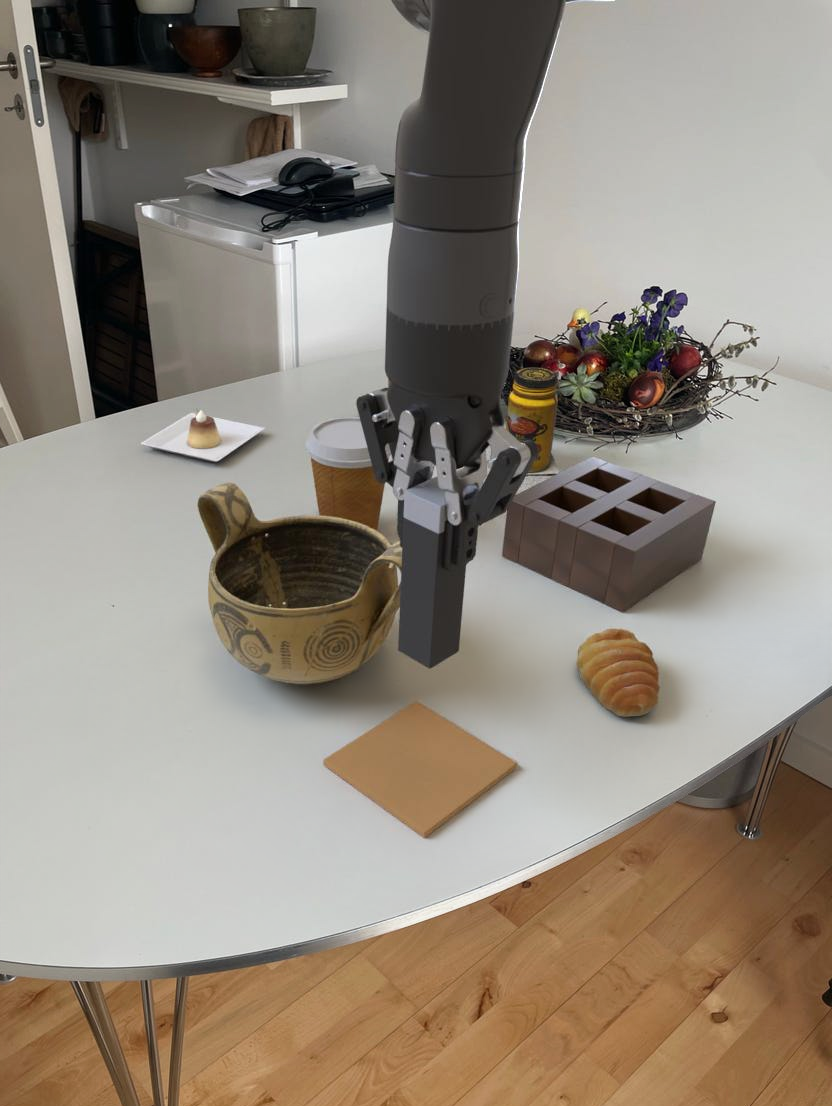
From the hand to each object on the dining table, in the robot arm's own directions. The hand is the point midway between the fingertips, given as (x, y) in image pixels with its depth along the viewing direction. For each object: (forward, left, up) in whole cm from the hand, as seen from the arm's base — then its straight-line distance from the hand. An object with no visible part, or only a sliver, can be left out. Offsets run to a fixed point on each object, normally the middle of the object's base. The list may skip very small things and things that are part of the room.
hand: (434, 554), depth 67 cm
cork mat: (0, 0, -20) cm, 20 cm away
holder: (+9, -39, -20) cm, 44 cm away
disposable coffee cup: (+32, -23, -20) cm, 44 cm away
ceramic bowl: (+17, -3, -20) cm, 26 cm away
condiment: (+30, -53, -20) cm, 64 cm away
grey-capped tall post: (0, 0, -8) cm, 8 cm away
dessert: (+63, -26, -20) cm, 71 cm away
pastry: (-5, -21, -20) cm, 29 cm away
